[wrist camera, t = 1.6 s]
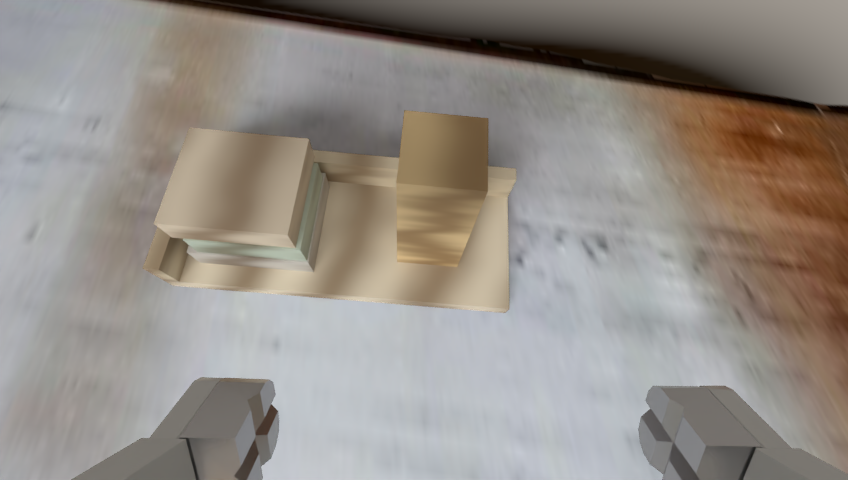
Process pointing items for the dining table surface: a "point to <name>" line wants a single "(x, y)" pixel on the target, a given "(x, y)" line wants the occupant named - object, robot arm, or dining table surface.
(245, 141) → the offcut stack
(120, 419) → the dining table surface
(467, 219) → the oak post
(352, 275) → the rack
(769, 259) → the dining table surface
